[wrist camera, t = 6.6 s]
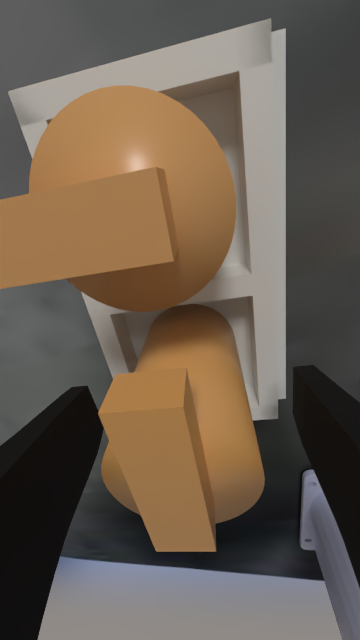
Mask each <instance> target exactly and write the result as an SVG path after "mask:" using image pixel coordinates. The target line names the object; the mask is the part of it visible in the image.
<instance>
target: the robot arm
mask: <svg viewBox="0 0 360 640" xmlns="http://www.w3.org/2000/svg"><path fill="white" fill-rule="evenodd" d="M293 415H294V419H295V422H296V425H297V429H298V432H299V435H300V438H301V442H302V444H303V447H304V449H305V451H306V454H307V456H308V458H309V461H310V463H311V465H312V468H313V470H307V471H305V472H304V473H303V475H302V496H301V519H300V545H301V548H302V549H304V550H315V551H316V555H317V558H318V561H319V564H320V568H321V571H322V574H323V577H324V581H325V584H326V587H327V590H328V594H329V597H330V600H331V604H332V607H333V610H334V613H335V616H336V620H337V623H338V626H339V630H340V633H341V636H342V640H360V403H359V402H358V401H357V400H356V399H354V398H353V397H352V396H351V395H349V394H348V393H347V392H346V391H344V390H343V389H342V388H341V387H339V386H338V385H337V384H336V383H335V382H333V381H332V380H331V379H330V378H328V377H327V376H326V375H325V374H324V373H322V372H321V371H320V370H319V369H318V368H316V367H315V366H314V365H309V366H298V367H293ZM103 429H104V427H103V424H102V422H101V420H100V417H99V415H98V410H97V407H96V405H95V403H94V400H93V398H92V396H91V393H90V391H89V388H88V386H79V387H72V388H70V389H69V390H68V391H66V392H65V393H64V394H62V395H61V396H60V397H59V398H58V399H56V400H55V401H54V402H53V403H52V404H50V405H49V406H48V407H47V408H46V409H45V410H43V411H42V412H41V413H40V414H39V415H37V416H36V417H35V418H34V419H33V420H32V421H30V422H29V423H28V424H27V425H26V426H24V427H23V428H22V429H21V430H20V431H19V432H17V433H16V434H15V435H14V436H12V437H11V438H10V439H9V440H7V441H6V442H5V443H4V444H2V445H1V446H0V640H37V639H38V635H39V631H40V627H41V622H42V619H43V615H44V611H45V607H46V604H47V600H48V596H49V593H50V589H51V585H52V582H53V578H54V574H55V571H56V568H57V564H58V561H59V558H60V554H61V551H62V547H63V544H64V541H65V538H66V535H67V532H68V529H69V526H70V523H71V521H72V518H73V515H74V513H75V510H76V508H77V505H78V503H79V500H80V498H81V495H82V492H83V490H84V487H85V485H86V482H87V480H88V477H89V474H90V472H91V469H92V467H93V464H94V461H95V459H96V456H97V453H98V449H99V445H100V442H101V438H102V433H103Z"/></svg>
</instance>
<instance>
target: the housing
mask: <svg viewBox="0 0 360 640" xmlns="http://www.w3.org/2000/svg"><path fill="white" fill-rule="evenodd" d="M8 93H9V96H10V99H11V102H12V104H13V107H14V110H15V113H16V115H17V118H18V121H19V123H20V126H21V129H22V132H23V134H24V137H25V140H26V143H27V145H28V148H29V151H30V153H31V156H32V159H33V160H32V164H31V170H30V177H29V194H25V195H21V196H16V197H11V198H7V199H2V200H0V289H2V288H8V287H14V286H21V285H27V284H33V283H40V282H46V281H52V280H59V279H65V278H66V279H67V280H68V281H69V282H70V283H71V284H73V285H74V286H75V287H76V288H77V289H79V290H80V291H81V293H82V296H83V298H84V301H85V304H86V306H87V309H88V312H89V315H90V317H91V320H92V323H93V326H94V328H95V331H96V334H97V337H98V339H99V342H100V345H101V347H102V350H103V353H104V356H105V358H106V361H107V364H108V367H109V369H110V372H111V375H112V378H113V379H114V377H115V375H116V374H125V373H134V371H135V368H136V365H137V363H138V360H139V357H140V354H141V352H142V349H143V346H144V343H145V341H146V338H147V335H148V332H149V329H150V327H151V325H152V323H153V322H154V320H155V319H156V318H157V317H158V316H159V315H160V314H161V313H162V312H164V311H165V310H167V309H169V308H171V307H173V306H179V305H186V304H200V305H204V306H207V307H210V308H212V309H214V310H216V311H217V312H219V313H220V314H221V315H223V316H224V317H225V318H226V319H227V321H228V322H229V323H230V325H231V327H232V329H233V332H234V336H235V340H236V345H237V350H238V354H239V359H240V364H241V368H242V373H243V378H244V382H245V387H246V392H247V396H248V401H249V406H250V410H251V415H252V420H266V419H278V399H286V28H285V29H282V30H278V31H274V32H271V18H270V19H266V20H263V21H259V22H256V23H252V24H249V25H245V26H241V27H238V28H234V29H231V30H227V31H223V32H220V33H216V34H213V35H209V36H205V37H202V38H198V39H195V40H191V41H187V42H184V43H180V44H177V45H173V46H169V47H166V48H162V49H159V50H155V51H152V52H148V53H144V54H141V55H137V56H134V57H130V58H126V59H123V60H119V61H116V62H112V63H108V64H105V65H101V66H98V67H94V68H90V69H87V70H83V71H80V72H76V73H73V74H69V75H65V76H62V77H58V78H55V79H51V80H47V81H44V82H40V83H37V84H33V85H29V86H26V87H22V88H19V89H15V90H11V91H8Z"/></svg>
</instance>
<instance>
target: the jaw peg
mask: <svg viewBox="0 0 360 640" xmlns="http://www.w3.org/2000/svg"><path fill="white" fill-rule="evenodd" d="M98 415H99V417H100V420H101V422H102V424H103V427H104V429H105V431H106V434H107V436H108V439H109V443H108V446H107V448H106V451H105V454H104V457H103V460H102V464H101V473H102V478H103V481H104V483H105V485H106V487H107V489H108V490H109V492H110V493H111V494H112V495H113V497H114V498H116V499H117V500H118V501H119V502H120V503H121V504H122V505H124V506H125V507H127V508H128V509H130V510H131V511H133V512H135V513H137V514H139V515H141V517H142V519H143V521H144V524H145V526H146V528H147V531H148V533H149V536H150V538H151V540H152V543H153V545H154V547H155V550H156V552H216V529H215V524H216V523H220V522H224V521H227V520H230V519H232V518H235V517H237V516H239V515H241V514H243V513H244V512H246V511H247V510H248V509H250V508H251V507H252V506H253V505H254V504H255V503H256V502H257V500H258V499H259V498H260V496H261V494H262V492H263V488H264V483H265V477H264V471H263V466H262V462H261V457H260V452H259V448H258V443H257V438H256V434H255V429H254V424H253V420H252V415H251V410H250V406H249V401H248V396H247V392H246V387H245V382H244V378H243V373H242V368H241V364H240V359H239V354H238V350H237V345H236V340H235V336H234V332H233V329H232V327H231V325H230V323H229V322H228V321H227V319H226V318H225V317H224V316H223V315H221V314H220V313H219V312H217V311H216V310H214V309H212V308H210V307H207V306H204V305H200V304H186V305H179V306H173V307H171V308H169V309H167V310H165V311H164V312H162V313H161V314H160V315H159V316H158V317H157V318H156V319H155V320H154V322H153V323H152V325H151V327H150V329H149V332H148V335H147V338H146V341H145V343H144V346H143V349H142V352H141V354H140V357H139V360H138V363H137V365H136V368H135V371H134V373H125V374H116V375H115V377H114V379H113V382H112V384H111V386H110V388H109V390H108V393H107V395H106V397H105V399H104V401H103V404H102V406H101V408H100V410H99V412H98Z"/></svg>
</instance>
